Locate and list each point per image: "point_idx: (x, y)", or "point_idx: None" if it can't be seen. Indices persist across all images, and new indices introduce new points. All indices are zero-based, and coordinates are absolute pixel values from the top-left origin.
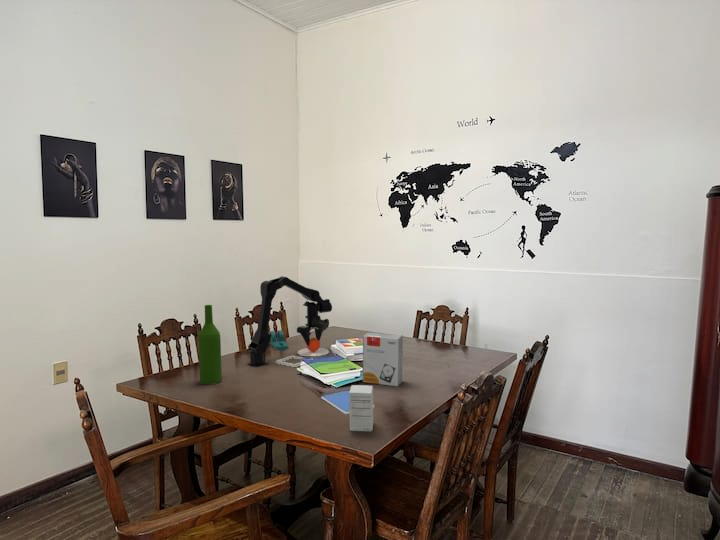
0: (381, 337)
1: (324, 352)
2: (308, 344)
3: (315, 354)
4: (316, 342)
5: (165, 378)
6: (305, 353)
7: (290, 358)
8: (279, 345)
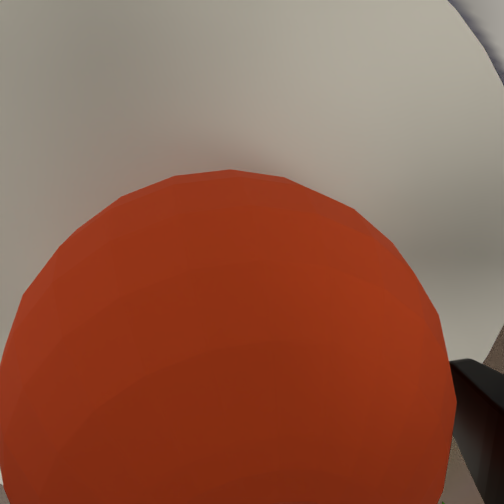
0: None
1: (83, 5)
2: (494, 372)
3: (378, 51)
4: (285, 268)
5: None
6: (426, 284)
7: None
8: None
